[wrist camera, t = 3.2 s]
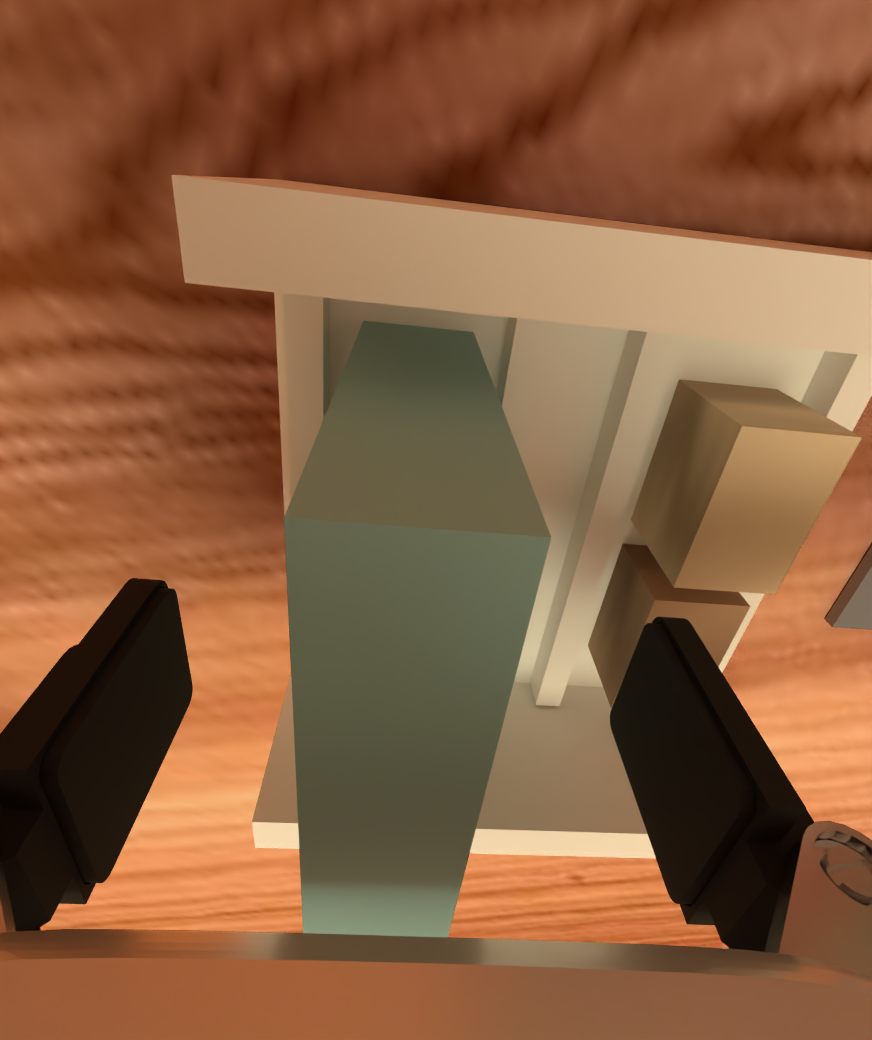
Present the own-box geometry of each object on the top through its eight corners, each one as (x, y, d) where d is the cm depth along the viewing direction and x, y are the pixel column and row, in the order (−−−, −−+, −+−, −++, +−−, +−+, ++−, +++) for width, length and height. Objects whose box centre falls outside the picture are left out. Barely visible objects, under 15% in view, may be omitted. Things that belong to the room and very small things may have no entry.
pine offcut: (679, 379, 13) (742, 426, 11) (776, 388, 13) (861, 437, 11) (630, 520, 15) (673, 587, 13) (715, 526, 15) (775, 594, 13)
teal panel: (363, 320, 12) (283, 517, 5) (473, 331, 12) (551, 537, 5) (352, 645, 17) (305, 973, 10) (429, 649, 18) (438, 974, 10)
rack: (279, 179, 12) (171, 174, 6) (888, 253, 13) (1203, 300, 8) (298, 673, 19) (255, 848, 14) (674, 692, 20) (760, 861, 15)
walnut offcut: (622, 543, 16) (654, 599, 13) (705, 549, 16) (750, 606, 14) (587, 645, 18) (610, 708, 16) (661, 649, 18) (694, 712, 16)
